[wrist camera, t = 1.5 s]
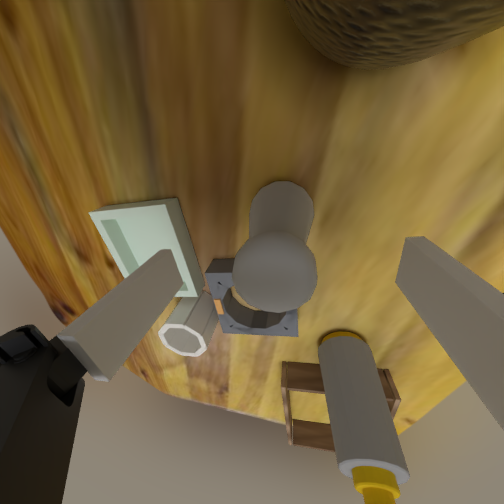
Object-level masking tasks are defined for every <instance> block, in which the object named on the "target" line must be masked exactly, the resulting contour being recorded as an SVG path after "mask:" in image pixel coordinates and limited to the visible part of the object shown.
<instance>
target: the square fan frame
mask: <svg viewBox="0 0 504 504" xmlns="http://www.w3.org/2000/svg"><path fill="white" fill-rule="evenodd" d="M234 261H235V259H213V261H212V263H211V264H210V266H209V267H208V269H207V270H206V272H205V276H206V279H207V282H208V285H209V289H210V292H211V295H212V298H213V301H214V305H215V308H216V311H217V314H218V317H219V321H220V324H221V327H222V330H223V333H232V334H252V335H271V336H291V337H298V313H297V309H293V310H289V311H285V312H281V313H275V312H267V311H254V310H251V309H249V308H246V307H244V306H242V305H240V304H239V302H238V301H237V300H236V299H235V298H234V297H233V296H232V293H231V289H230V287H232V286H234V284H233V281H232V279H231V278H232V272H233V266H234Z"/></svg>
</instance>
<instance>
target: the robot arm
mask: <svg viewBox="0 0 504 504" xmlns="http://www.w3.org/2000/svg"><path fill="white" fill-rule="evenodd" d="M395 283H396V284H397V285H398V287H399V288H400V289H401V291H402V292H403V293H404V295H405V296H406V298H407V299H408V300H409V302H410V303H411V304H412V306H413V307H414V309H415V310H416V311H417V313H418V314H419V315H420V317H421V318H422V320H423V321H424V322H425V324H426V325H427V326H428V328H429V329H430V330H431V332H432V333H433V335H434V336H435V337H436V339H437V340H438V341H439V343H440V344H441V346H442V347H443V348H444V350H445V351H446V352H447V354H448V355H449V357H450V358H451V359H452V361H453V362H454V363H455V365H456V366H457V367H458V369H459V370H460V372H461V373H462V374H463V376H464V377H465V378H466V380H467V381H468V383H469V384H470V385H471V387H472V388H473V389H474V391H475V392H476V393H477V394H478V396H479V398H480V399H481V400H482V402H483V403H484V404H485V405H486V407H487V409H488V410H489V411H490V413H491V414H492V415H493V417H494V418H495V420H496V421H497V422H498V424H499V425H500V426H501V427H502V429H503V430H504V293H501V292H500V291H498V290H497V289H496V288H494V287H493V286H492V285H490V284H489V283H487V282H486V281H485V280H483V279H482V278H481V277H479V276H478V275H476V274H475V273H474V272H472V271H471V270H470V269H468V268H467V267H465V266H464V265H463V264H461V263H460V262H458V261H457V260H456V259H454V258H453V257H452V256H450V255H449V254H447V253H446V252H445V251H443V250H442V249H441V248H439V247H438V246H436V245H435V244H434V243H432V242H431V241H429V240H428V239H427V238H425V237H424V236H421V237H406V239H405V243H404V247H403V251H402V256H401V260H400V264H399V268H398V273H397V277H396V281H395ZM183 284H184V283H183V280H182V277H181V275H180V272H179V269H178V266H177V264H176V261H175V258H174V256H173V253H172V250H171V249H161V250H159V251H158V252H157V253H156V254H154V255H153V256H152V257H151V258H150V259H148V260H147V261H146V262H145V263H144V264H142V265H141V266H140V267H139V268H138V269H136V270H135V271H134V272H133V273H131V274H130V275H129V276H128V277H127V278H125V279H124V280H123V281H122V282H121V283H119V284H118V285H117V286H116V287H114V288H113V289H112V290H111V291H110V292H108V293H107V294H106V295H105V296H104V297H102V298H101V299H100V300H99V301H98V302H96V303H95V304H94V305H93V306H91V307H90V308H89V309H88V310H87V311H85V312H84V313H83V314H82V315H81V316H79V317H78V318H77V319H76V320H74V321H73V322H72V323H71V324H70V325H68V326H67V327H66V328H65V329H64V330H62V331H61V332H60V333H59V334H58V335H56V336H55V337H54V338H53V339H51V340H50V341H48V340H47V339H46V337H45V336H44V335H43V334H42V333H41V332H40V331H39V330H38V329H37V327H36V326H34V325H25V326H21V327H18V328H16V329H14V330H12V331H10V332H8V333H6V334H4V335H2V336H0V504H62V499H63V494H64V489H65V484H66V479H67V474H68V468H69V463H70V458H71V453H72V448H73V443H74V438H75V432H76V428H77V423H78V418H79V412H80V407H81V402H82V397H83V392H84V387H85V381H84V380H83V378H82V377H83V376H84V374H85V373H86V372H87V371H88V373H89V374H90V375H91V376H92V377H93V378H94V379H95V380H100V381H110V380H111V379H112V377H113V376H114V375H115V374H116V372H117V371H118V370H119V368H120V367H121V366H122V364H123V363H124V362H125V361H126V359H127V358H128V357H129V355H130V354H131V353H132V351H133V350H134V349H135V347H136V346H137V345H138V343H139V342H140V341H141V339H142V338H143V337H144V336H145V334H146V333H147V332H148V330H149V329H150V328H151V326H152V325H153V324H154V322H155V321H156V320H157V318H158V317H159V316H160V314H161V313H162V312H163V310H164V309H165V308H166V307H167V305H168V304H169V303H170V301H171V300H172V299H173V297H174V296H175V295H176V293H177V292H178V291H179V289H180V288H181V287H182V285H183Z"/></svg>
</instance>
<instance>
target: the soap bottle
mask: <svg viewBox="0 0 504 504" xmlns="http://www.w3.org/2000/svg"><path fill="white" fill-rule="evenodd" d="M318 356H319V362H320V368H321V373H322V379H323V385H324V390H325V396H326V402H327V407H328V413H329V419H330V424H331V430H332V435H333V441H334V447H335V452H336V458H337V464H338V468H339V470H340V471H341V472H342V473H343V474H344V475H346V476H347V477H349V478H351V479H353V481H354V486H355V489H356V490H357V491H358V492H359V493H361V494H363V497H364V502H365V504H396V503H395V500H394V499H396V498H399V496H400V490H399V487H398V485H400V484H402V483H406V482H407V481H408V479H409V478H410V474H409V471H408V468H407V465H406V462H405V458H404V455H403V452H402V449H401V445H400V442H399V439H398V436H397V432H396V429H395V426H394V423H393V419H392V416H391V413H390V410H389V406H388V403H387V400H386V397H385V394H384V390H383V387H382V384H381V381H380V377H379V374H378V371H377V368H376V364H375V361H374V358H373V355H372V351H371V349H370V347H369V345H368V344H366V343H365V342H364V341H362V339H361V338H360V337H358V336H357V335H356V334H353V333H350V332H342V331H338V332H334V333H330V334H329V335H327V336H325V337H324V339H323V340H322V344H321V345H320V346H319V348H318Z"/></svg>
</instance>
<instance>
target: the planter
mask: <svg viewBox="0 0 504 504" xmlns="http://www.w3.org/2000/svg"><path fill="white" fill-rule="evenodd" d="M284 1H285V3H286V6H287V8H288V10H289V12H290V15H291V17H292V19H293V21H294V22H295V24H296V25H297V27H298V28H299V30H300V31H301V33H302V34H303V36H304V37H305V38H306V39H307V40H308V41H309V42H310V44H311V45H312V46H313V47H314V48H315V49H316V50H317V51H319V52H320V53H322V54H323V55H325V56H326V57H327V58H329V59H330V60H332V61H335V62H337V63H339V64H342V65H344V66H347V67H352V68H357V69H363V70H373V69H386V68H391V67H396V66H401V65H405V64H410V63H414V62H418V61H421V60H423V59H426V58H429V57H431V56H434V55H436V54H439V53H442V52H444V51H447V50H449V49H452V48H454V47H456V46H459V45H461V44H464V43H466V42H469V41H471V40H473V39H476V38H478V37H480V36H482V35H485V34H487V33H489V32H491V31H494V30H496V29H498V28H500V27H503V26H504V0H284Z"/></svg>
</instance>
